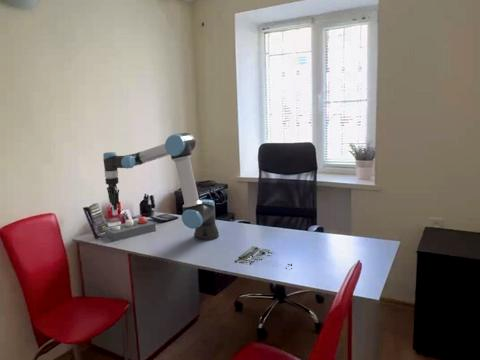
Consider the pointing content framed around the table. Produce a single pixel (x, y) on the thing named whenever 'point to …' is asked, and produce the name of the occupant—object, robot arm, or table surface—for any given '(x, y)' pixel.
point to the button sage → (115, 228)
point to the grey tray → (129, 230)
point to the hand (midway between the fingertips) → (115, 214)
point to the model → (251, 252)
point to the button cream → (129, 223)
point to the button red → (142, 220)
